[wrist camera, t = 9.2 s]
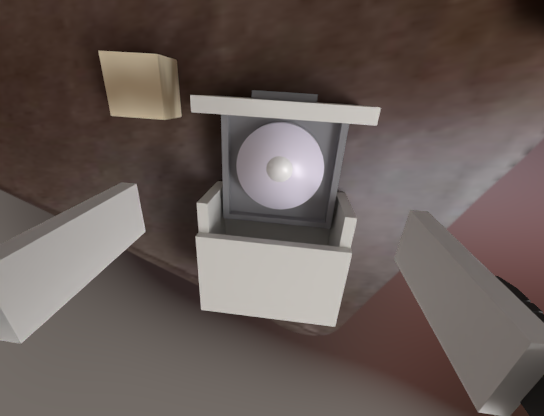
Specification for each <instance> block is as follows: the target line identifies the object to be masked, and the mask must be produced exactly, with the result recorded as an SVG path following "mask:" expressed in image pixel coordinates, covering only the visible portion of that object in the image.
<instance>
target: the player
mask: <svg viewBox="0 0 544 416" xmlns="http://www.w3.org/2000/svg"><path fill="white" fill-rule="evenodd" d="M197 216H198V230H199V232H198V234H197V235H196V236H195V237H196V250H197V263H198V275H199V287H200V299H201V310H207V311H215V312H223V313H231V314H238V315H247V316H254V317H262V318H270V319H278V320H286V321H294V322H302V323H310V324H318V325H325V326H333V327H335V325H336V321H337V317H338V312H339V308H340V304H341V299H342V295H343V291H344V286H345V282H346V278H347V274H348V269H349V265H350V261H351V256H352V251H351V244H352V239H353V235H354V230H355V226H356V222H357V217H356V215H355V212H354V210H353V208H352V206H351V204H350V202H349V200H348V198H347V196H346V194H345V193H344V192H337V195H336V200H335V206H334V211H333V217H332V222H331V228H330V229H325V228H315V227H305V226H295V225H285V224H275V223H265V222H255V221H245V220H235V219H225V218H223V182H222V181H217V182H216V183H215V184H214V185H213V186H212V187H211V188H210V189H209V190H208V191H207V192H206V193H205V195H204V196H203V197H202V198H201V199H200V200H199V201H198V202H197Z"/></svg>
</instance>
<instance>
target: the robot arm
mask: <svg viewBox="0 0 544 416" xmlns="http://www.w3.org/2000/svg"><path fill="white" fill-rule="evenodd" d="M145 232H146V231H145V226H144V221H143V216H142V210H141V205H140V200H139V194H138V189H137V184H134V183H123V182H122V183H120V184H118V185H116V186H114V187H112V188H110V189H108V190H106V191H104V192H102V193H100V194H98V195H96V196H94V197H92V198H90V199H88V200H86V201H84V202H82V203H80V204H78V205H76V206H74V207H72V208H70V209H68V210H66V211H64V212H62V213H61V214H59V215H57V216H55V217H53V218H51V219H49V220H47V221H45V222H43V223H41V224H39V225H37V226H35V227H33V228H31V229H29V230H27V231H25V232H23V233H21V234H19V235H17V236H15V237H13V238H11V239H9V240H7V241H5V242H3V243H1V244H0V340H1V341H8V342H14V343H22V342H23V341H24V340H26V339H27V338H28V337H29V336H30V335H31V334H32V333H33V332H35V331H36V330H37V329H38V328H39V327H40V326H41V325H42V324H43V323H45V322H46V321H47V320H48V319H49V318H50V317H51V316H52V315H53V314H55V313H56V312H57V311H58V310H59V309H60V308H61V307H62V306H63V305H64V304H66V303H67V302H68V301H69V300H70V299H71V298H72V297H73V296H75V295H76V294H77V293H78V292H79V291H80V290H81V289H82V288H83V287H85V286H86V285H87V284H88V283H89V282H90V281H91V280H92V279H93V278H95V276H97V275H98V274H99V273H100V272H101V271H102V270H103V269H105V268H106V267H107V266H108V265H109V264H110V263H111V262H112V261H113V260H115V259H116V258H117V257H118V256H119V255H120V254H121V253H122V252H123V251H125V250H126V249H127V248H128V247H129V246H130V245H131V244H132V243H133V242H135V241H136V240H137V239H138V238H139V237H140V236H141V235H142V234H143V233H145ZM394 260H395V262H396V264H397V265H398V267H399V269H400V271H401V273H402V274H403V276H404V278H405V280H406V282H407V284H408V285H409V287H410V289H411V291H412V293H413V295H414V296H415V298H416V300H417V301H418V304H419V305H420V307H421V309H422V311H423V312H424V314H425V316H426V318H427V320H428V322H429V324H430V325H431V327H432V329H433V331H434V333H435V335H436V336H437V338H438V340H439V342H440V344H441V346H442V347H443V349H444V351H445V353H446V354H447V356H448V358H449V360H450V362H451V364H452V365H453V367H454V369H455V371H456V373H457V375H458V376H459V378H460V380H461V382H462V384H463V386H464V387H465V389H466V391H467V393H468V395H469V397H470V398H471V400H472V402H473V404H474V406H475V407H476V409H477V411H478V412H480V413H486V414H493V415H500V416H510V415H511V414H512V413H513V412H514V411H515V409H516V408H517V407H518V406H519V405H520V404H522V405H523V407H524V408H525V410H526V411H527V413H528V414H529V415H530V416H544V314H543V313H542V311H541V310H540V309H539V308H538V307H537V306H536V305H535V304H533V303H530V300H529V299H528V298H527V297H526V296H525V295H524V294H523V293H522V292H520V291H519V290H518V289H517V288H516V287H514V286H513V285H511V284H510V283H508V282H506V281H505V280H503V279H502V278H500V277H498V276H494V275H493V274H492V273H491V272H490V271H489V270H488V269H487V268H486V267H485V266H484V265H483V264H482V263H481V262H480V261H479V260H478V259H477V258H476V257H475V256H473V255H472V254H471V253H470V252H469V251H468V250H467V249H466V248H465V247H464V246H463V245H462V244H461V243H460V242H459V241H458V240H457V239H456V238H455V237H454V236H453V235H452V234H450V233H449V232H448V231H447V230H446V229H445V228H444V227H443V226H442V225H441V224H440V223H439V222H438V221H437V220H436V219H435V218H434V217H433V216H432V215H431V214H430V213H429V212H426V211H416V210H410V212H409V215H408V218H407V221H406V224H405V227H404V230H403V233H402V236H401V239H400V242H399V245H398V248H397V251H396V254H395V257H394Z"/></svg>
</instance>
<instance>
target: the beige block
mask: <svg viewBox="0 0 544 416" xmlns="http://www.w3.org/2000/svg"><path fill="white" fill-rule="evenodd" d="M98 52H99V57H100V62H101V68H102V73H103V78H104V83H105V88H106V93H107V98H108V103H109V108H110V113H111V116H120V117H134V118H147V119H161V120H166V119H172V118H178V117H182V114H181V103H180V91H179V79H178V68H177V60H176V59H172V58H169V57H166V56H162V55H159V54H150V53H132V52H114V51H98Z"/></svg>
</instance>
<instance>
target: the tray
mask: <svg viewBox="0 0 544 416" xmlns="http://www.w3.org/2000/svg"><path fill="white" fill-rule="evenodd" d="M317 97H318V94H304V93H288V92H273V91H257V90H252V98H247V97H232V96H217V95H190V102H191V112H195V113H209V114H221V137H222V178H223V218H225V219H235V220H245V221H255V222H265V223H275V224H285V225H295V226H305V227H315V228H325V229H330V228H331V222H332V217H333V211H334V206H335V200H336V195H337V189H338V183H339V178H340V172H341V167H342V161H343V156H344V150H345V145H346V139H347V133H348V128H349V124H362V125H376V126H377V123H378V118H379V114H380V109H381V108H379V107H372V106H364V105H352V104H337V103H322V102H317ZM272 122H290V123H293V124H296V125H299V126H301V127H302V128H304V129H306V130H307V131H308V132H309V133H310V134H311V135H312V136H313V137H314V138H315V140H316V141H317V143H318V145H319V147H320V150H321V152H322V155H323V160H324V174H323V179H322V181H321V184H320V186H319V188H318V190H317V191H316V192H315V194H314V195H313V196H312V197H311V198H310V199H309V200H307V201H306V202H304V203H303V204H301V205H299V206H296V207H293V208H289V209H272V208H268V207H265V206H263V205H261V204H259V203H257V202H256V201H254V200H253V199H252V198H251V197H250V196H248V194H247V193H246V192H245V191H244V189H243V188H242V186H241V184H240V182H239V179H238V175H237V168H236V164H237V156H238V153H239V150H240V148H241V146H242V144H243V142H244V141H245V140H246V138H247V137H248V136H249V135H250V134H252V133H253V132H254V131H255V130H257V129H258V128H260V127H261V126H263V125H266V124H269V123H272Z"/></svg>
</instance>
